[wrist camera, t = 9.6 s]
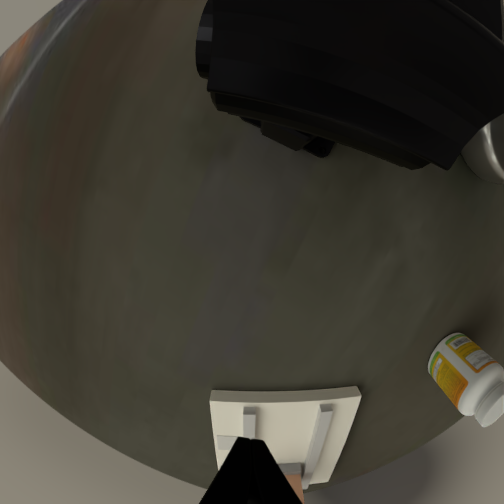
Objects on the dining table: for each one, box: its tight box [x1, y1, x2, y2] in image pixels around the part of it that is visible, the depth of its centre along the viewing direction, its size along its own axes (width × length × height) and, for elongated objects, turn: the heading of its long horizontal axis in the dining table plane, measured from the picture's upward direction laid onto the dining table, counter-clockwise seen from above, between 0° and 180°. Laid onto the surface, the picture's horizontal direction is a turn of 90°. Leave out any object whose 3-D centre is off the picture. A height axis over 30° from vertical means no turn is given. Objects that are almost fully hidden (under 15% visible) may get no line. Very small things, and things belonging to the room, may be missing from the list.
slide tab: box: [278, 463, 304, 504], centre depth 19 cm, size 4×4×9 cm
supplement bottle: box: [428, 333, 504, 427], centre depth 17 cm, size 5×5×10 cm
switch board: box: [210, 386, 361, 489], centre depth 23 cm, size 16×13×2 cm
